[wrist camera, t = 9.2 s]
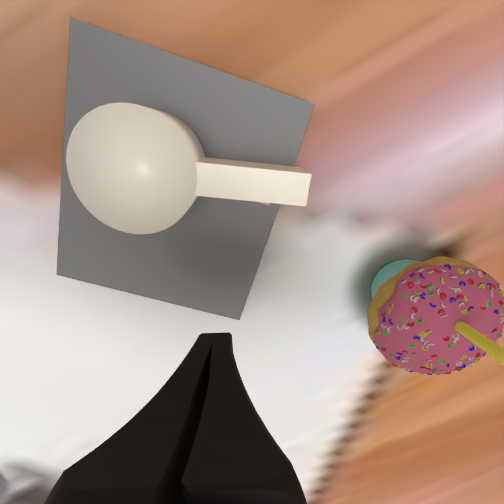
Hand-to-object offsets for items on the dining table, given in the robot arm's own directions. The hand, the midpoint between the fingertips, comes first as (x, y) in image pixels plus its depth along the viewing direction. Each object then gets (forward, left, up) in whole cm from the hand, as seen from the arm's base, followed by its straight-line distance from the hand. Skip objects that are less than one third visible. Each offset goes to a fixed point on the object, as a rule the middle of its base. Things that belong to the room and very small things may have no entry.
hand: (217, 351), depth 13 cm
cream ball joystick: (-3, +6, -7) cm, 10 cm away
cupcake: (+14, +2, -11) cm, 18 cm away
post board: (-5, +4, -10) cm, 12 cm away
